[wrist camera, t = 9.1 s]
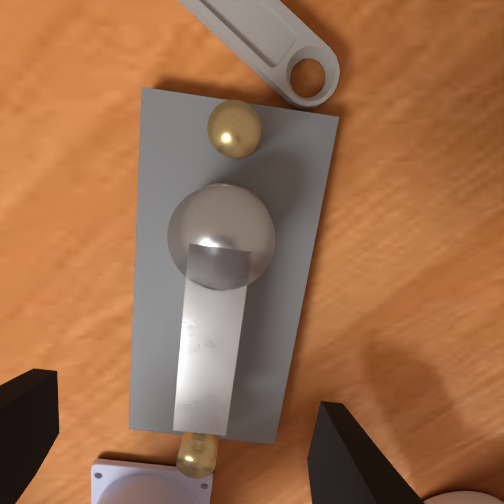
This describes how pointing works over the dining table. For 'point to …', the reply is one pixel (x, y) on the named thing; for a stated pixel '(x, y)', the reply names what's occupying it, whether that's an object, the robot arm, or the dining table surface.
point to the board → (258, 292)
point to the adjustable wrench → (268, 42)
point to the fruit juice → (463, 498)
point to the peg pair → (236, 147)
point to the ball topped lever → (215, 294)
